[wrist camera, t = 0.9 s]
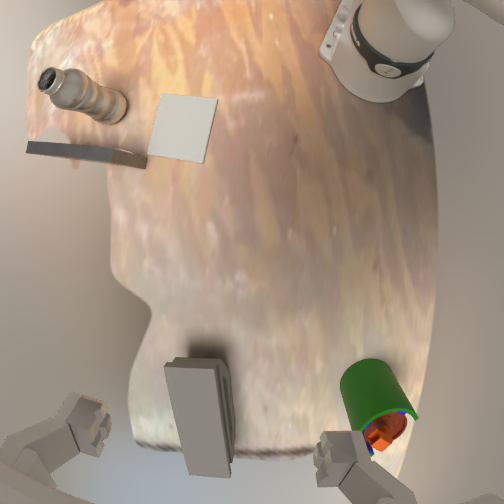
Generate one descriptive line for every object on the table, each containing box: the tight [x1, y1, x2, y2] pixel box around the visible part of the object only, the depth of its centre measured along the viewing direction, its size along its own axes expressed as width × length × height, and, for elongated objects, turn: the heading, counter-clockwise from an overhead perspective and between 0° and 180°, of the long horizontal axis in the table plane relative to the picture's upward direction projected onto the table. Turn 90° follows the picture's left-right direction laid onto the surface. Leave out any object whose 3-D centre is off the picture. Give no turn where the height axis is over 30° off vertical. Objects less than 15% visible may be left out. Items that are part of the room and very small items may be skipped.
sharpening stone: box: [164, 357, 235, 478], centre depth 52 cm, size 25×8×11 cm, turn 3°
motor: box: [340, 359, 418, 457], centre depth 44 cm, size 10×9×20 cm
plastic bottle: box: [37, 67, 127, 124], centre depth 41 cm, size 6×7×20 cm
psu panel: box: [26, 141, 147, 169], centre depth 46 cm, size 2×18×12 cm, turn 78°
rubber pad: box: [147, 94, 218, 163], centre depth 50 cm, size 11×10×1 cm
